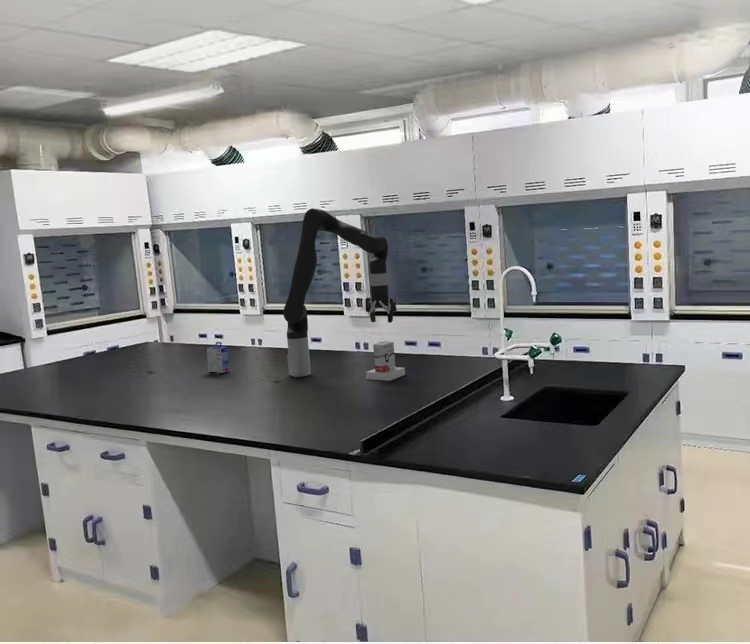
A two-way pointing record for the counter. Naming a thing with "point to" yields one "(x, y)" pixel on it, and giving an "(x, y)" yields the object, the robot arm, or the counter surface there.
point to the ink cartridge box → (218, 358)
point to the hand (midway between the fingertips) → (381, 322)
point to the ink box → (384, 356)
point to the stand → (385, 374)
